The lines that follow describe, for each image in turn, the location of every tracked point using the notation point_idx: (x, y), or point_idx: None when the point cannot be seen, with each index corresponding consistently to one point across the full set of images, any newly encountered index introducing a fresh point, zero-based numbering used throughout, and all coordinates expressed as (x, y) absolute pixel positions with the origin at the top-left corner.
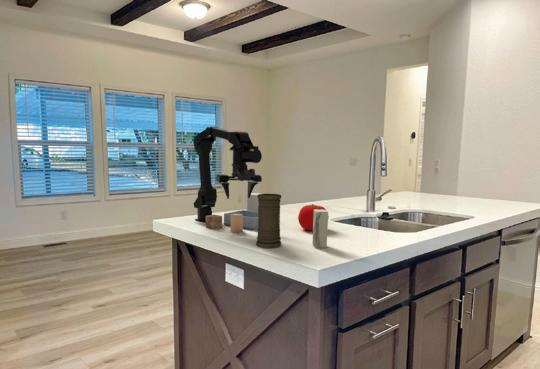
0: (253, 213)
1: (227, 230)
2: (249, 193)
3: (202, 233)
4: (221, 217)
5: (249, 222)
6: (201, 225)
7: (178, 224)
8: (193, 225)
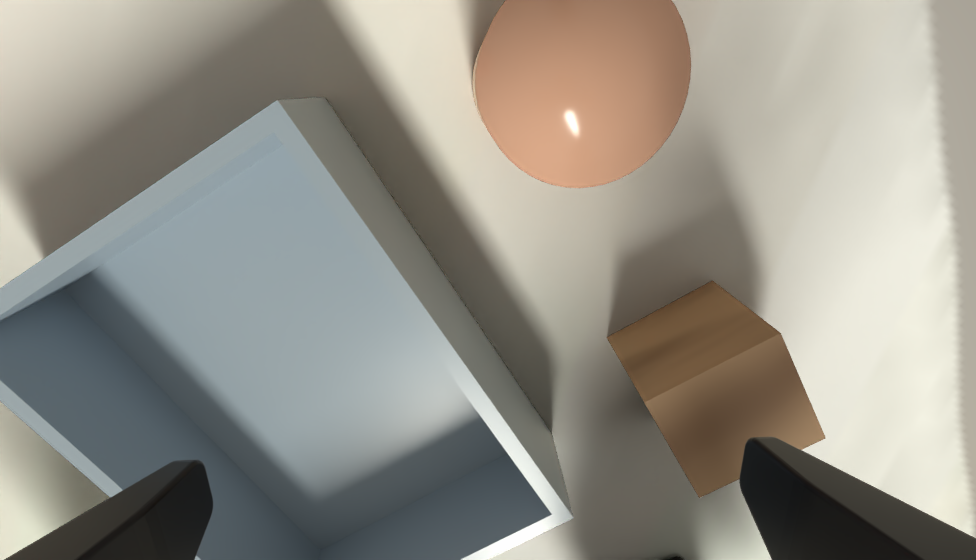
0: None
1: None
2: (93, 545)
3: (904, 112)
4: (649, 386)
5: (349, 168)
6: None
7: None
8: None
